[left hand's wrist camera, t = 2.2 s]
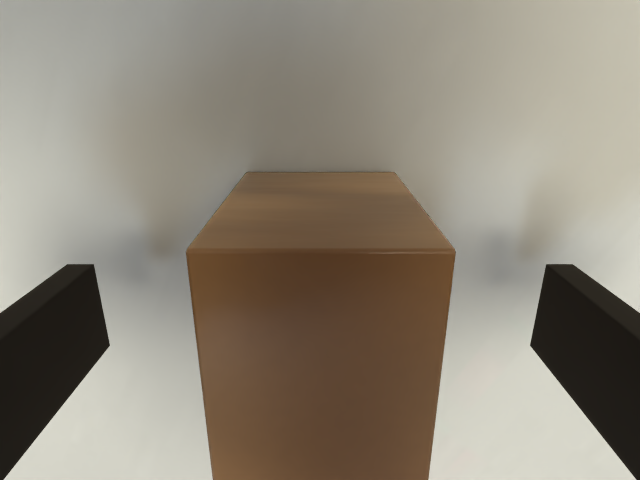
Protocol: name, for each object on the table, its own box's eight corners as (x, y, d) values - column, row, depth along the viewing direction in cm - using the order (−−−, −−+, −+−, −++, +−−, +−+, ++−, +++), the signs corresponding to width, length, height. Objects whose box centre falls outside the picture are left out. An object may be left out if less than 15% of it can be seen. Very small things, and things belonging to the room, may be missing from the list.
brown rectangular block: (255, 325, 17) (212, 486, 10) (245, 171, 15) (183, 249, 8) (385, 325, 17) (428, 486, 10) (395, 171, 15) (457, 249, 8)
